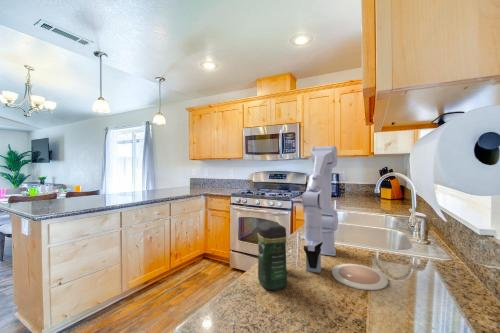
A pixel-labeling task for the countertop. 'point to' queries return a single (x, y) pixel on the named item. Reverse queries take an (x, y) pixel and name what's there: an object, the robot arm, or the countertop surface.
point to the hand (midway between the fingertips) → (313, 264)
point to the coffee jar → (272, 255)
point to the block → (316, 267)
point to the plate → (360, 277)
